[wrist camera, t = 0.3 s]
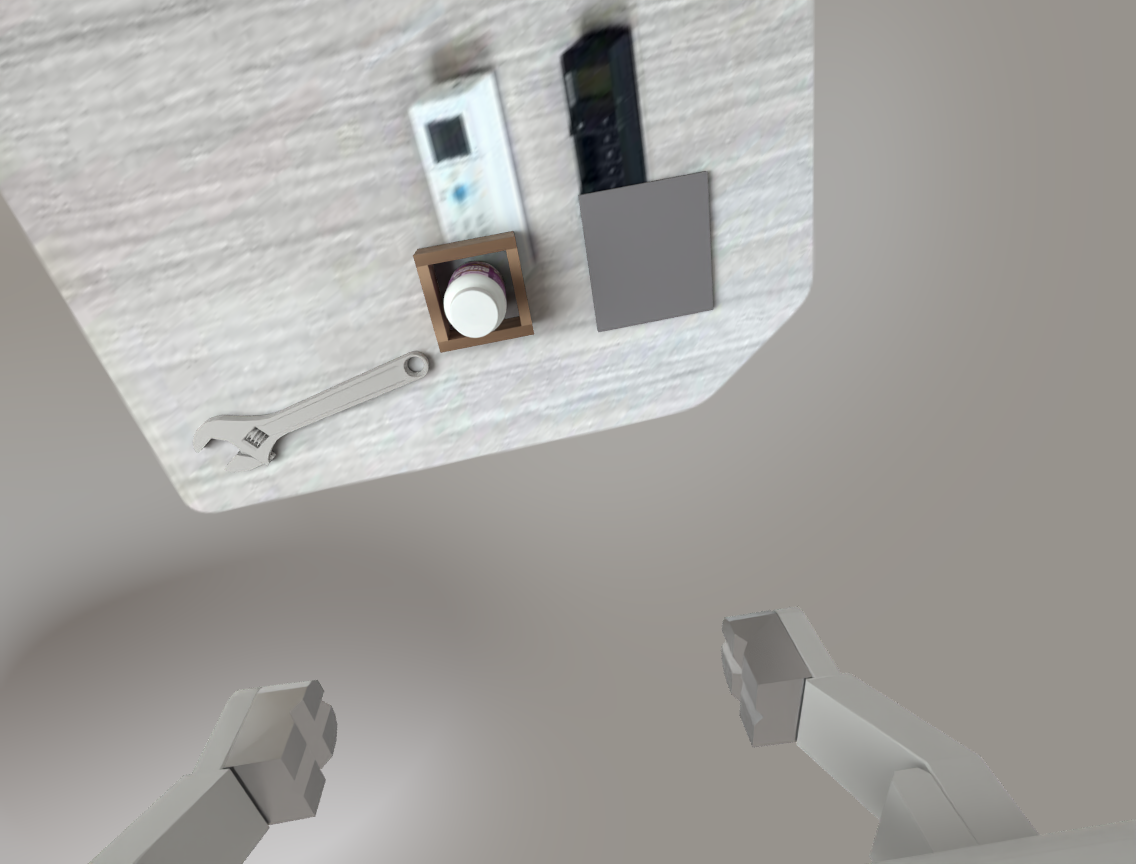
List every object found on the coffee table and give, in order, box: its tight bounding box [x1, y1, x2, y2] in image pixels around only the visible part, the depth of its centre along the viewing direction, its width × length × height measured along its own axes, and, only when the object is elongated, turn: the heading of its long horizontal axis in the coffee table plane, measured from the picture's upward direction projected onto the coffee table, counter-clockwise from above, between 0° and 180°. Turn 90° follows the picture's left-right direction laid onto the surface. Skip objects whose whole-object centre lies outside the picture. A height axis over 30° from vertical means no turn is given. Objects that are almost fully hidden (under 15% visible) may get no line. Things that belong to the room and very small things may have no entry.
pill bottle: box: [444, 261, 507, 338], centre depth 50 cm, size 5×5×10 cm
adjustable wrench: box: [193, 351, 429, 472], centre depth 58 cm, size 25×6×2 cm, turn 107°
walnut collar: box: [413, 231, 534, 352], centre depth 53 cm, size 9×9×4 cm
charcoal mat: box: [578, 171, 713, 332], centre depth 55 cm, size 13×12×1 cm
